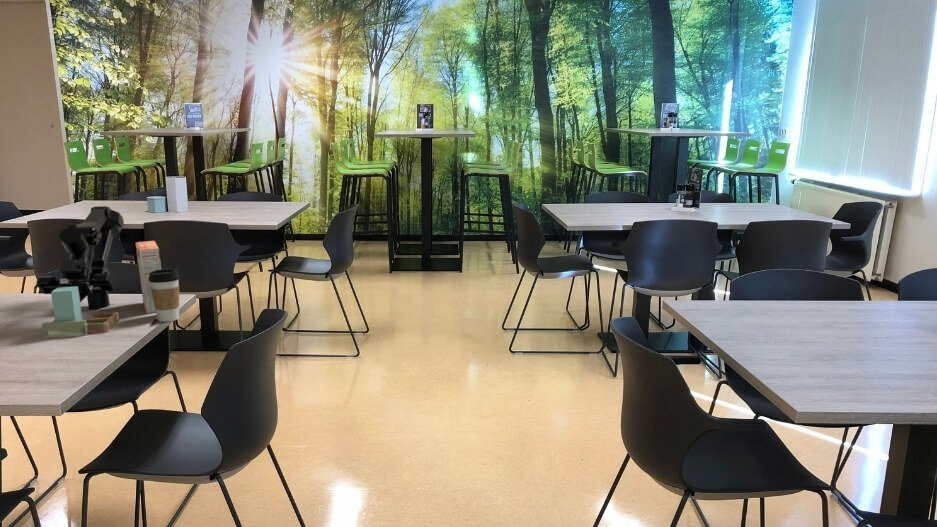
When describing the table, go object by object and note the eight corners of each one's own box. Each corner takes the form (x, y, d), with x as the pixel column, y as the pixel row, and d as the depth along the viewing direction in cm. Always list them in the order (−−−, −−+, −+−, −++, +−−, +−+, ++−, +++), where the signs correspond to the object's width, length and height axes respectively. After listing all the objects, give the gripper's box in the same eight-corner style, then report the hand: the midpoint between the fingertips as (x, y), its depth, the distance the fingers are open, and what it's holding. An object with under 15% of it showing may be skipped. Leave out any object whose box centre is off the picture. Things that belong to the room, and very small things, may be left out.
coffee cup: (168, 324, 191) (163, 274, 187) (146, 321, 194) (141, 272, 190) (189, 316, 198) (185, 268, 195) (168, 313, 201) (163, 266, 198)
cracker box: (142, 305, 210) (134, 241, 205) (162, 302, 213) (155, 240, 208) (145, 316, 198) (137, 249, 193) (166, 314, 201) (159, 247, 196)
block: (63, 328, 183) (58, 287, 180) (83, 327, 184) (77, 286, 181) (57, 334, 178) (50, 292, 175) (77, 333, 179) (71, 291, 176)
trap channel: (63, 325, 190) (61, 308, 189) (121, 321, 193) (119, 305, 192) (44, 341, 176) (41, 323, 175) (106, 337, 180) (104, 320, 178)
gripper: (33, 248, 182) (22, 297, 174) (106, 246, 186) (98, 293, 178) (48, 269, 191) (38, 316, 183) (118, 266, 195) (111, 312, 187)
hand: (71, 309), depth 182 cm, fingers closed, pressing on block
